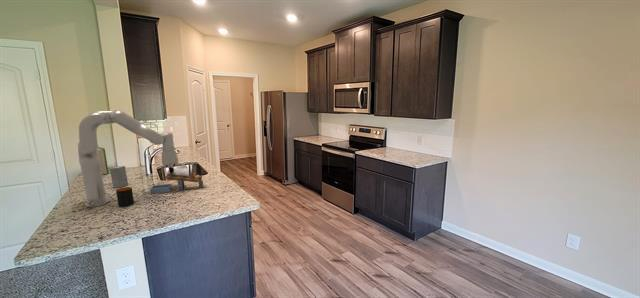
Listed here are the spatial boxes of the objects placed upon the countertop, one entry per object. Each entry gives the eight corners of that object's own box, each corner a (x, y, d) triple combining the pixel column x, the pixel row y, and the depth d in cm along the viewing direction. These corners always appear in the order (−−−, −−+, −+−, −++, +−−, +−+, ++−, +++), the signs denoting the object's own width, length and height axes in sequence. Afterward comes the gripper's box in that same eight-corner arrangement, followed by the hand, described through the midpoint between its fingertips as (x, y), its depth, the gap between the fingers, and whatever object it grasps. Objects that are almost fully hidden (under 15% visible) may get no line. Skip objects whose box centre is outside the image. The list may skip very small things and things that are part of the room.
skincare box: (121, 188, 208) (117, 168, 205) (112, 188, 208) (108, 168, 205) (128, 184, 216) (126, 165, 213) (120, 184, 216) (117, 165, 213)
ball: (199, 180, 203) (200, 176, 203) (194, 180, 202) (195, 175, 202) (200, 179, 207) (200, 174, 206) (195, 178, 206) (195, 174, 205)
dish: (169, 192, 197) (169, 187, 196) (150, 194, 193) (149, 189, 192) (172, 188, 205) (171, 183, 204) (153, 190, 201) (153, 185, 200)
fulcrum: (187, 186, 209) (186, 175, 208) (184, 191, 198) (183, 180, 196) (179, 187, 207) (177, 176, 206) (175, 192, 196) (174, 181, 195)
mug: (119, 209, 166) (117, 193, 164) (118, 204, 175) (115, 189, 173) (135, 206, 171) (133, 190, 169) (133, 201, 180) (131, 186, 178)
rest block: (202, 188, 204) (201, 182, 203) (199, 188, 204) (198, 182, 203) (203, 186, 209) (202, 180, 208) (199, 186, 208) (199, 180, 208)
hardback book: (108, 174, 248) (104, 148, 243) (99, 176, 242) (94, 149, 237) (101, 171, 258) (97, 146, 253) (92, 173, 252) (87, 148, 247)
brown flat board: (203, 176, 218) (203, 171, 218) (200, 182, 202) (201, 177, 202) (169, 173, 211) (170, 168, 210) (163, 179, 195) (164, 173, 194)
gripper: (156, 150, 197) (159, 175, 201) (178, 149, 202) (181, 173, 205) (159, 149, 204) (162, 172, 208) (180, 147, 209) (183, 170, 212)
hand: (171, 172), depth 206 cm, fingers closed
